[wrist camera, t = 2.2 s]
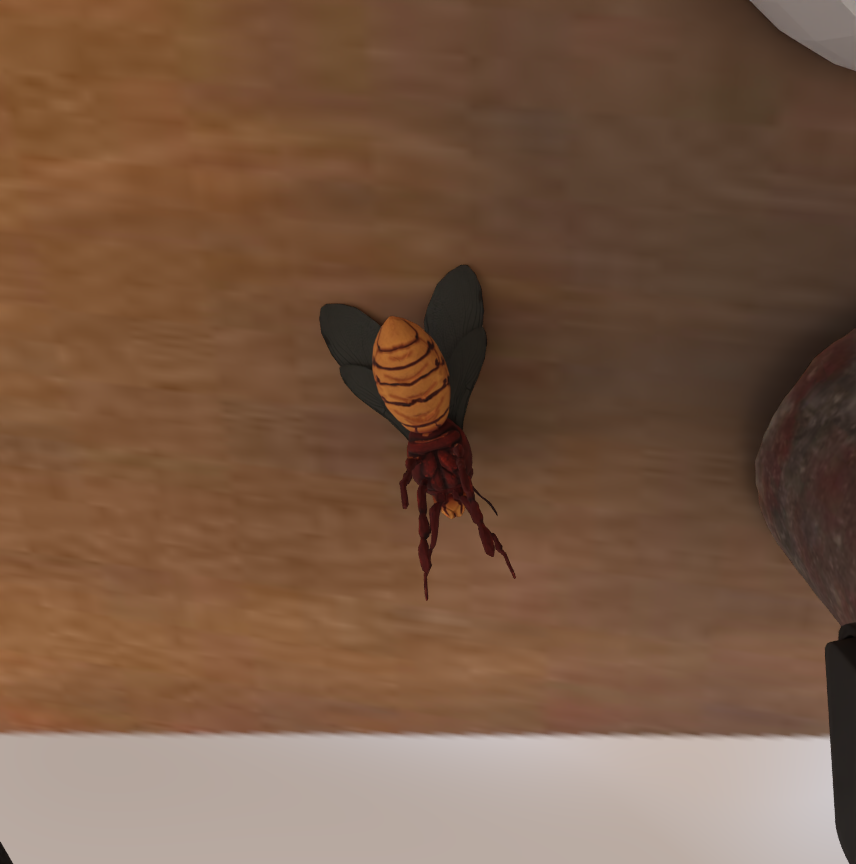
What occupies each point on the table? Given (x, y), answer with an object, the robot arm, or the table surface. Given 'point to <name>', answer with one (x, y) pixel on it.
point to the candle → (816, 477)
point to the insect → (422, 393)
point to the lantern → (817, 26)
